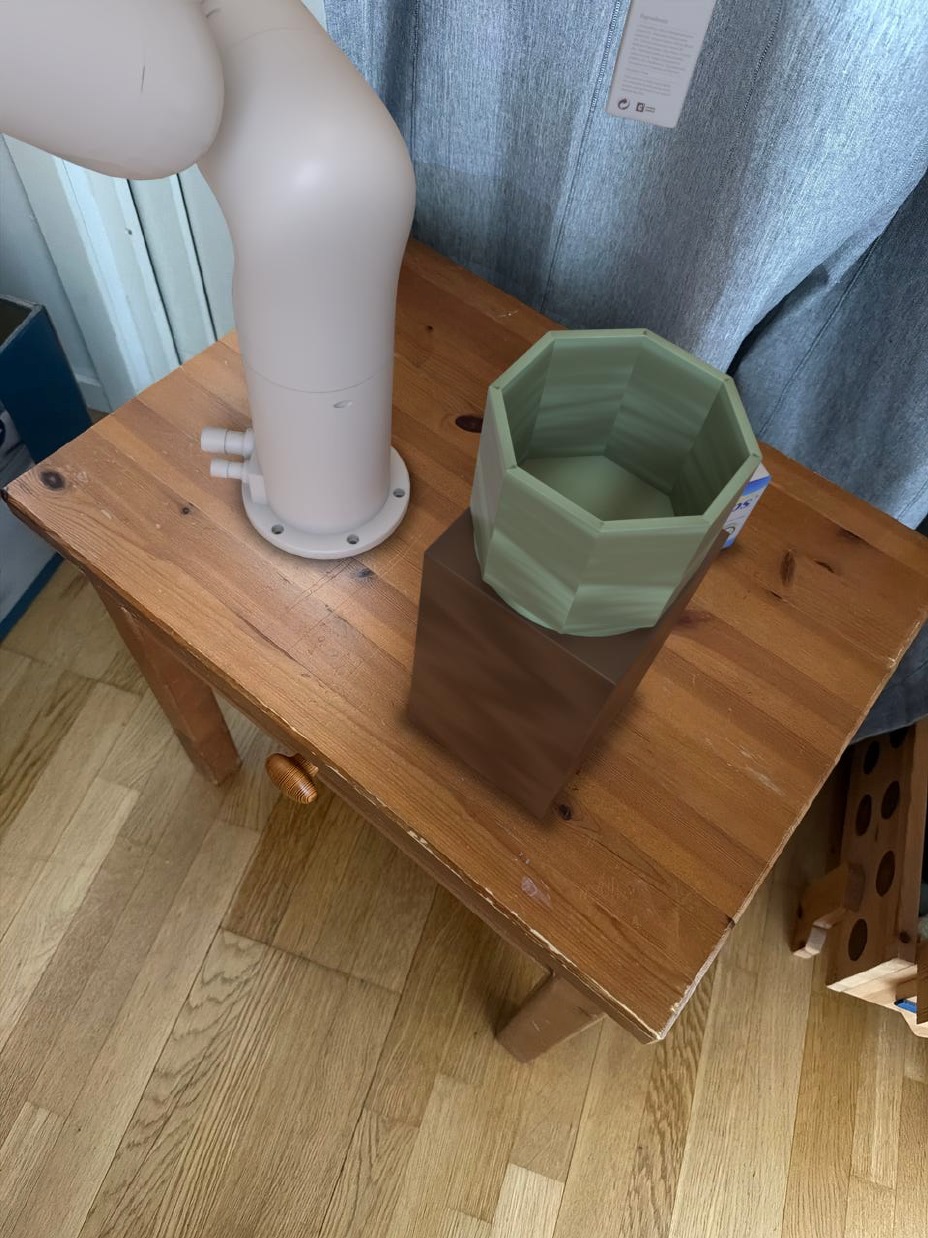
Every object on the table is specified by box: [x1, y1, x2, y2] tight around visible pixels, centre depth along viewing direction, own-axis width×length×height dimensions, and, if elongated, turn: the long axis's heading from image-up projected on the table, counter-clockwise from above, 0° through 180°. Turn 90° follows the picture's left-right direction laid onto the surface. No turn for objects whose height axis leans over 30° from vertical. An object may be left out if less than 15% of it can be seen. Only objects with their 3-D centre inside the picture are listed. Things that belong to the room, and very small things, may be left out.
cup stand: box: [407, 327, 763, 820], centre depth 49 cm, size 11×11×29 cm
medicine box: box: [722, 462, 772, 549], centre depth 66 cm, size 8×4×9 cm, turn 114°
